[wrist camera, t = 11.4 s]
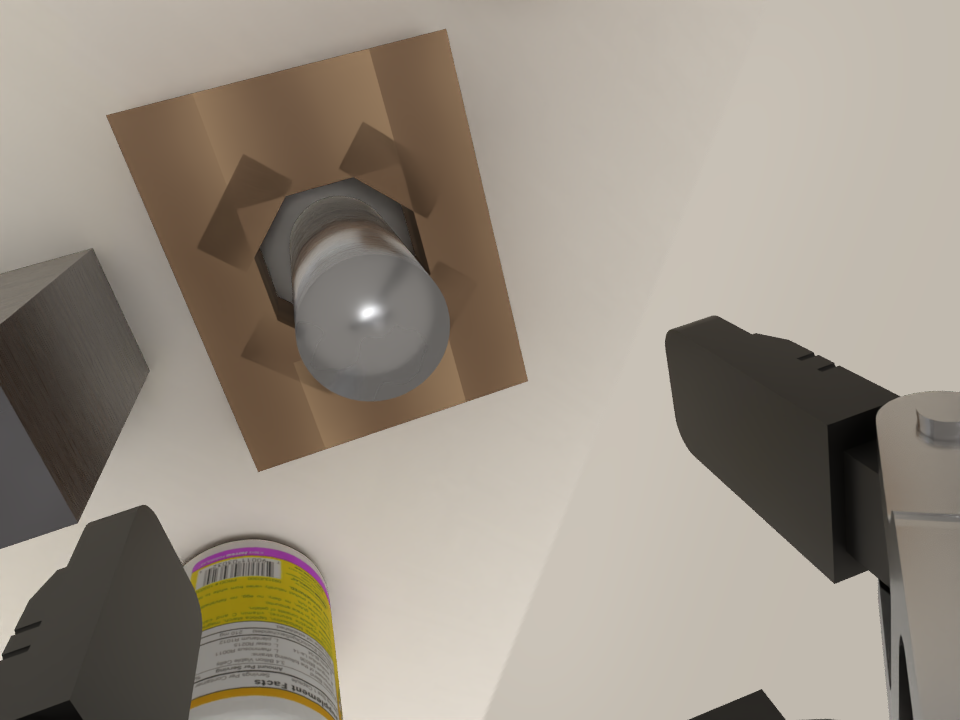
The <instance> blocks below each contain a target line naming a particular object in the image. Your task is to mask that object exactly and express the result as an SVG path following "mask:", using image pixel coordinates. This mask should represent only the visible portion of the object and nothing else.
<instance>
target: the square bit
mask: <svg viewBox="0 0 960 720" xmlns="http://www.w3.org/2000/svg"><path fill="white" fill-rule="evenodd" d="M148 373H149V369H148V367H147V364H146V362H145V360H144V358H143V356H142V354H141V352H140V349H139V347H138V345H137V343H136V341H135V339H134V337H133V334H132V332H131V330H130V328H129V326H128V324H127V322H126V319H125V317H124V315H123V313H122V311H121V309H120V306H119V304H118V302H117V300H116V298H115V296H114V294H113V291H112V289H111V287H110V285H109V283H108V281H107V279H106V276H105V274H104V272H103V270H102V268H101V266H100V264H99V261H98V259H97V257H96V255H95V253H94V251H93V248H92V249H88V250H84V251H81V252H77V253H74V254H70V255H66V256H63V257H59V258H56V259H52V260H49V261H45V262H41V263H38V264H34V265H31V266H27V267H23V268H20V269H16V270H13V271H9V272H6V273H2V274H0V549H2V548H5V547H8V546H11V545H14V544H17V543H20V542H23V541H26V540H29V539H32V538H35V537H38V536H41V535H44V534H47V533H50V532H53V531H56V530H59V529H62V528H65V527H68V526H71V525H74V524H77V523H78V522H79V519H80V517H81V515H82V513H83V511H84V509H85V507H86V505H87V502H88V500H89V498H90V496H91V494H92V492H93V490H94V488H95V485H96V483H97V481H98V479H99V477H100V475H101V473H102V471H103V468H104V466H105V464H106V462H107V460H108V458H109V456H110V454H111V451H112V449H113V447H114V445H115V443H116V441H117V439H118V437H119V434H120V432H121V430H122V428H123V426H124V424H125V422H126V420H127V417H128V415H129V413H130V411H131V409H132V407H133V405H134V403H135V400H136V398H137V396H138V394H139V392H140V390H141V388H142V386H143V383H144V381H145V379H146V377H147V375H148Z"/></svg>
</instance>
